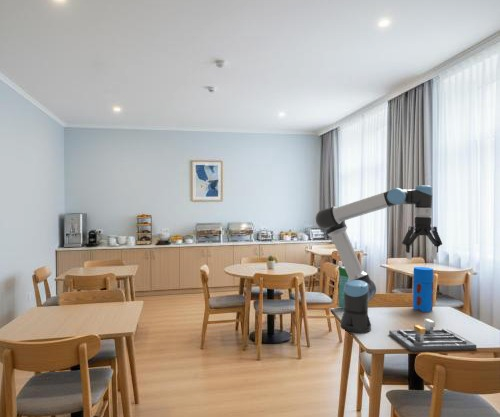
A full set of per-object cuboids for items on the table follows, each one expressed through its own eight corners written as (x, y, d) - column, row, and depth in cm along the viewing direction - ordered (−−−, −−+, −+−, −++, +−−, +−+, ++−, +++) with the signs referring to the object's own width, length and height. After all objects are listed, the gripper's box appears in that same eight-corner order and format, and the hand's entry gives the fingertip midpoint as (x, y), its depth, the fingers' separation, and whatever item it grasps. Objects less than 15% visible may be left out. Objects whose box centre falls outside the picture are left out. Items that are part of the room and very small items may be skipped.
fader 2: (430, 335, 170) (430, 322, 170) (423, 331, 175) (424, 318, 175) (434, 335, 170) (434, 322, 170) (428, 331, 176) (428, 318, 175)
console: (411, 351, 157) (411, 343, 157) (388, 334, 177) (389, 327, 177) (476, 349, 159) (476, 342, 159) (447, 333, 180) (447, 326, 180)
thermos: (409, 309, 222) (410, 268, 221) (417, 305, 229) (418, 266, 229) (428, 313, 214) (429, 270, 213) (435, 309, 221) (436, 268, 221)
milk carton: (349, 310, 216) (350, 268, 216) (338, 307, 224) (339, 266, 224) (360, 308, 221) (360, 267, 221) (348, 305, 229) (349, 265, 228)
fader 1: (420, 343, 160) (420, 329, 160) (413, 338, 166) (414, 325, 165) (425, 343, 161) (425, 329, 160) (418, 338, 166) (418, 325, 166)
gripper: (404, 216, 176) (402, 260, 176) (450, 217, 179) (449, 260, 180) (395, 215, 183) (394, 257, 183) (440, 216, 187) (439, 258, 187)
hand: (421, 259), depth 182 cm, fingers open, 13 cm apart
